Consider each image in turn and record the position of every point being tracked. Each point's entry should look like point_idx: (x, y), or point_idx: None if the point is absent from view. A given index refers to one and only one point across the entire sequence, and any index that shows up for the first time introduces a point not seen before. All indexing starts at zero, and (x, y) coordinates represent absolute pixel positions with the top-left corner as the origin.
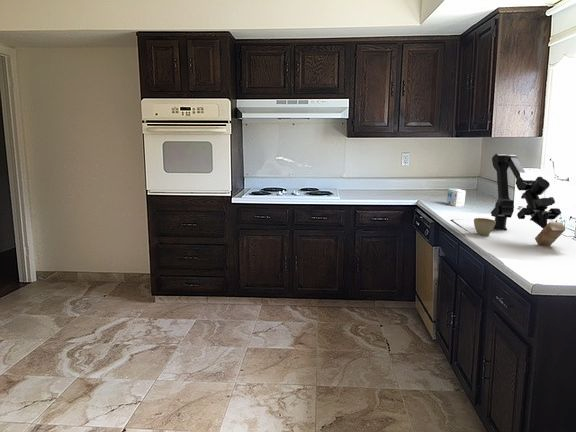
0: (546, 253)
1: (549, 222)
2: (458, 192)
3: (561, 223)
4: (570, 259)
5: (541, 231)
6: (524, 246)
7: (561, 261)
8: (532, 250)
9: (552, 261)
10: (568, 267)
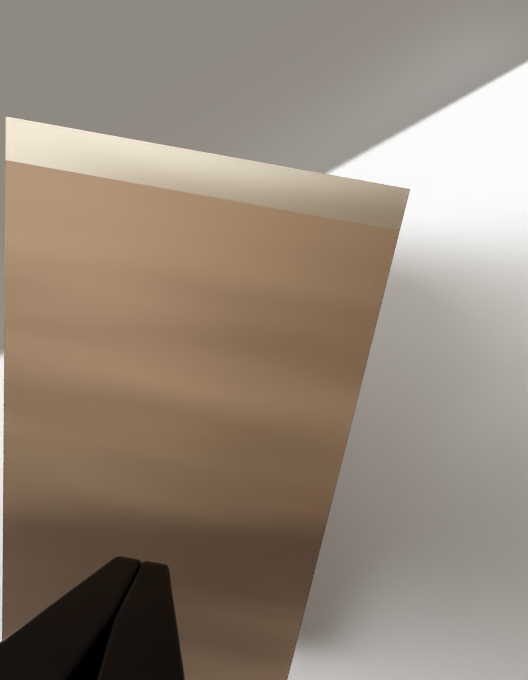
0: (431, 299)
1: (401, 189)
2: None
3: (50, 125)
4: (350, 166)
5: (317, 538)
6: (522, 580)
7: (454, 155)
8: (514, 401)
9: (518, 167)
10: (489, 96)
